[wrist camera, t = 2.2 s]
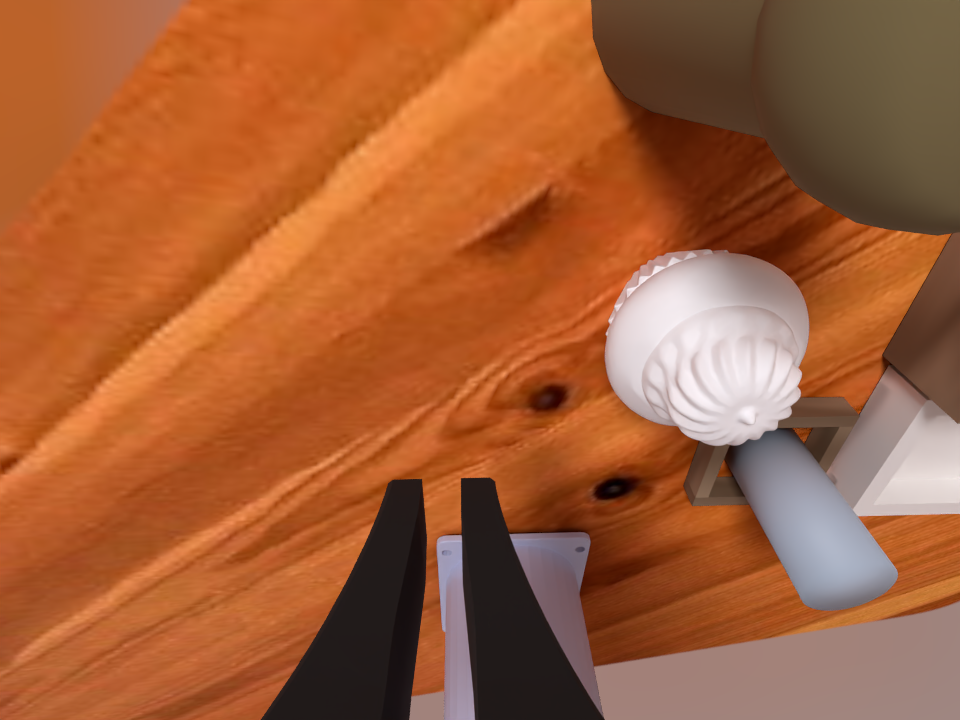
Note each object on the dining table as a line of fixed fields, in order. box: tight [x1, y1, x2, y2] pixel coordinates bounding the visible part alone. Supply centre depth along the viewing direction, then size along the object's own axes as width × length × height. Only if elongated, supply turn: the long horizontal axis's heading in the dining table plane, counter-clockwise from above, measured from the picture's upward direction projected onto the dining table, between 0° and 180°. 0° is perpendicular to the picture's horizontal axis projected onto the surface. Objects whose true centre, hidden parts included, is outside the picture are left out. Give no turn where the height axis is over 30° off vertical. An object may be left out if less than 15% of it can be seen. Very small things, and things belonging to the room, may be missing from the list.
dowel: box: [724, 428, 898, 610], centre depth 21 cm, size 3×3×7 cm
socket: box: [684, 397, 860, 506], centre depth 24 cm, size 6×6×1 cm
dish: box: [826, 365, 960, 516], centre depth 23 cm, size 7×7×2 cm
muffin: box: [605, 249, 809, 446], centre depth 16 cm, size 6×6×7 cm
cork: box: [591, 0, 960, 235], centre depth 9 cm, size 6×6×11 cm
